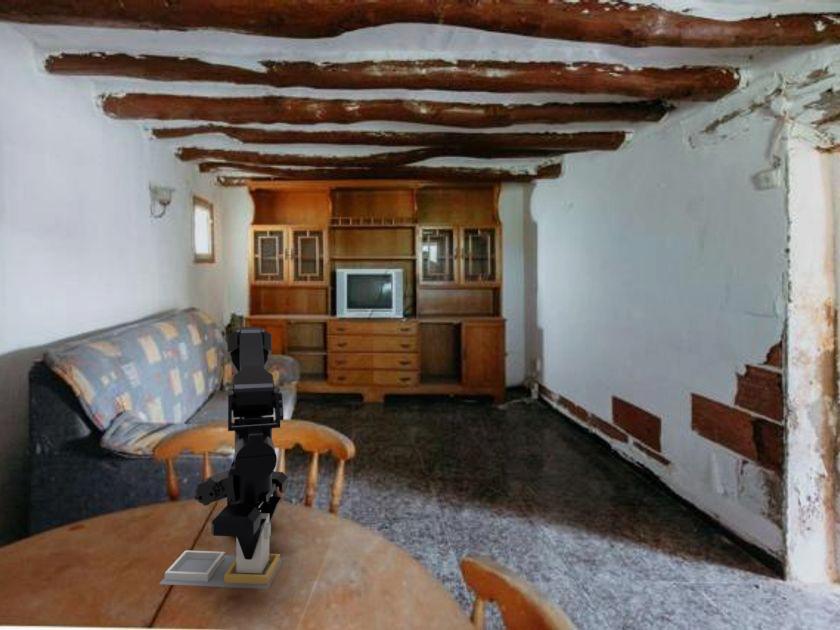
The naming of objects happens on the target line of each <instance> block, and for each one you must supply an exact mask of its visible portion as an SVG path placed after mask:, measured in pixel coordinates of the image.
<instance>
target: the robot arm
mask: <svg viewBox="0 0 840 630" xmlns="http://www.w3.org/2000/svg"><path fill="white" fill-rule="evenodd" d="M226 336H227V341H226V342H227V344H226V345H227V349H226V350H227V351H226V352H227V355H226V356H227V357H230V358H231V359H230V360H231V361H230V362H231V363H230V364H231V368H232V370H233V372H234V373H235V374H234V375H233V376H232V388H228V390H227V396H228V397H227V398H228V399H227V406H228V407H227V431H228V432H234V459H233V461H232V462H231V467H230V468H229V470H227V471H226V470H225V471H224V472H220V473H219V472H218V473H216V474H214V475H211V476H209V477H206V478H205V479H204V480H201V481H200V482H198V483H197V485H196V488H195V489H194V492H195V495H194V499H195V501H198V503H200V504H201V505H202V506H205V507H206V506H208V505H210V504H211V503H214V502H216V501H217V502H218V501H221V500H224V499H225V498H226V506H225V507H224V508H222V510H221V511H220V512H218V514H217V515H216V516H214V518H213V519H212V520H211V522H210V524H211V526H210V527H211V530H210V531H211V533H210V534H211V535H212V536H215V537H233V538H235V539H236V537H237V539H238V541H239V544H240V547H241V550H242V552H243V555H244V558H245V559H247V560H251V559H252V558H253V555H254V553H255V550H256V547H257V544H258V541H259V539H260V536H261V533H262V530H263V528H264V525H265V522H266V519H261V513H270V520H269V523H271V522H272V521H273V518H274V517H275V516H274V515H275V513H276V511H277V508H278V507H279V505H280V502H281V499H282V497H281V496H278V492H279V493H280V494H283V493H285V491H286V490H287V489H288V487H289V485H288V483H289V482H288V481H289V480H288V476H287V474H286V473H284V472H283V471H275V468H276V466H277V461H278V459H277V452H276V448H275V445H274V441H273V429H279V428H281V421H284V417H285V416H284V404H283V403H284V402H283V401H284V400H283V393H282V392H281V391H280V387H279V386H275V381H274V375H273V374H272V373H271V372H270V371H268V370H267V369H266V367H267V366H268V360H269V356H271V355H272V353H273V350H272V348H273V346H272V345H273V343H272V339H273V338H272V333H270V332H267V331H265V328H264V327H263V328H262V327H261V326H241V327H239V328H238V327H237V328H236V331H233V332H230V333H228V334H227V335H226ZM273 415H274V416H273ZM232 416H233V417H232ZM232 418H234V421H232V420H233V419H232ZM274 418H275V419H274ZM271 524H272V523H271Z"/></svg>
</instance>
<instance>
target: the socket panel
mask: <svg viewBox="0 0 840 630" xmlns="http://www.w3.org/2000/svg"><path fill="white" fill-rule="evenodd" d="M284 559H285V557H281V553H269V562H268V563H267V565H266V567H265V568H264V570H263V572H262V573H261V574H259V573H236V555H231V554H230V555H229V554H228V555H227V554H226V552H225V551H215V550H213V551H212V550H211V551H210V550H208V551H207V550H184V551H183V552H182V553H181V554H180V556H179V557H177V559H176V560H175V561H174V562H173V563H172V565H170V566H169V567H168V568H167V570H166V571H165V572H164V578H162V580H161V581H160V582H159V583H158V585H164V586H165V585H167V586H169V585H170V586H192V587H216V588H217V587H218V588H236V589H238V588H240V589H241V588H242V589H243V588H244V589H260V590H261V589H264V590H265V589H267V590H268V588H269V587H270V585H271V583H272V581H273V579H274V578H275V576H276V574H277V572H278V570H279V569H280V567H281V565H282V563H283V561H284Z"/></svg>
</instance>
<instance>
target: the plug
mask: <svg viewBox="0 0 840 630" xmlns="http://www.w3.org/2000/svg"><path fill="white" fill-rule="evenodd" d="M261 519H266V522H265V525H264V528H263V530H262V533H261V536H260V539H259V541H258V544H257V547H256V550H255V553H254V555H253V558H252V559H251V560H247V559H245V558H244V555H243V552H242V550H241V547H240V544H239V541H238V539H237V537H236V538H235V539H236V544H235V545H236V547H235V548H236V552H235V553H236V554H235V556H236V573H259V574H261V573H262V572H263V570H264V568H265V567H266V565H267V563H268V562H269V554H270V537H271V534H272V532H271V531H272V530H271V529H272V523H269V520H270V513H261Z"/></svg>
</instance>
